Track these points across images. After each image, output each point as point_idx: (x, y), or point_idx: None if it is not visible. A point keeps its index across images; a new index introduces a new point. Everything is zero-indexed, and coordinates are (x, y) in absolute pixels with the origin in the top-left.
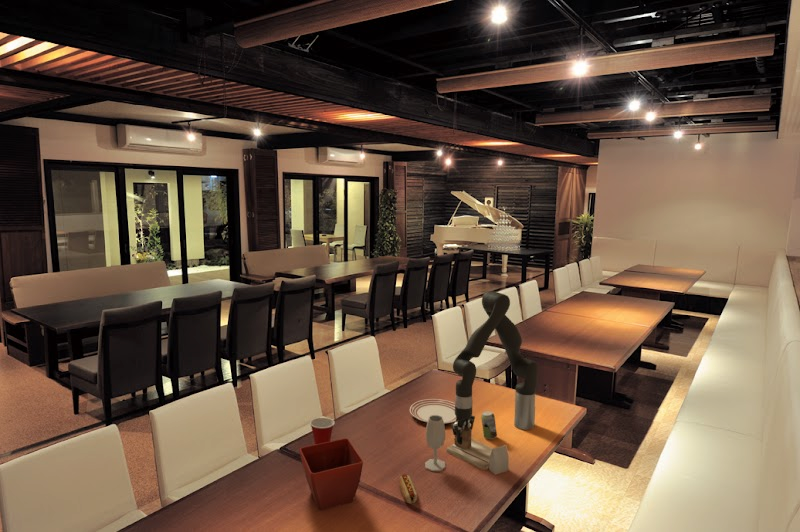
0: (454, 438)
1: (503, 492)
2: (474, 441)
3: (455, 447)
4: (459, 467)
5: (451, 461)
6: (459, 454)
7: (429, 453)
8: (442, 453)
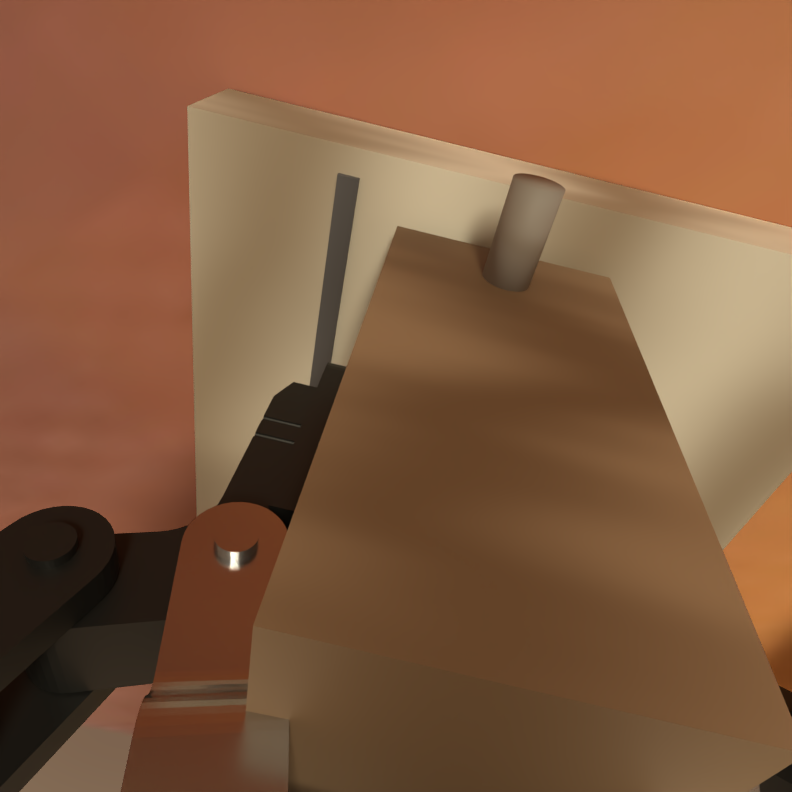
0: (526, 190)
1: (95, 723)
2: (749, 473)
3: (325, 277)
4: (59, 437)
5: (71, 305)
6: (198, 405)
7: None
8: (129, 28)
